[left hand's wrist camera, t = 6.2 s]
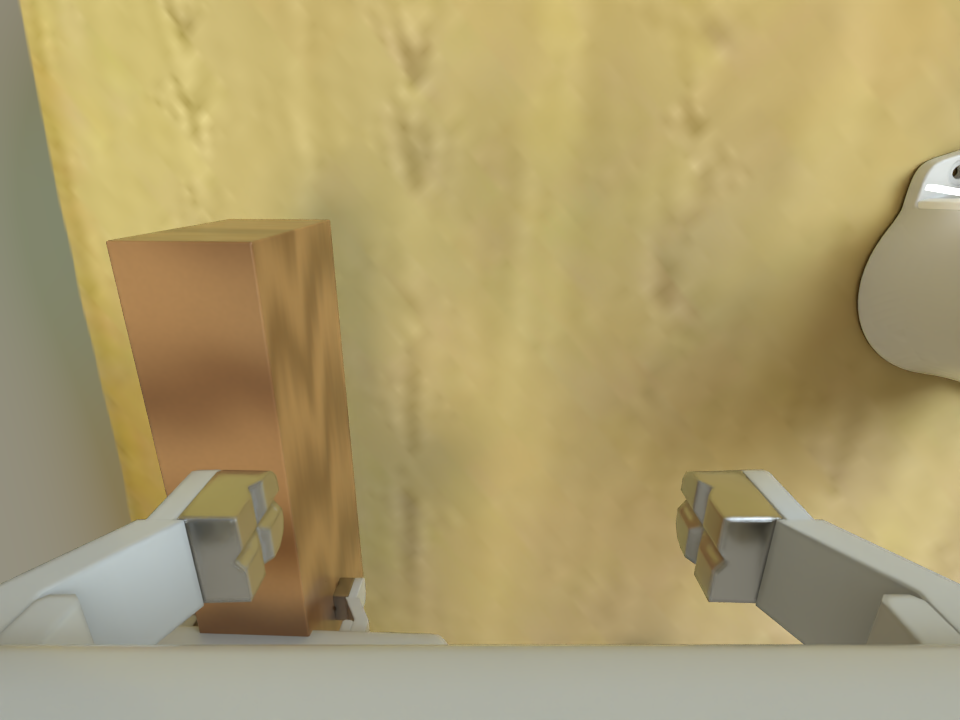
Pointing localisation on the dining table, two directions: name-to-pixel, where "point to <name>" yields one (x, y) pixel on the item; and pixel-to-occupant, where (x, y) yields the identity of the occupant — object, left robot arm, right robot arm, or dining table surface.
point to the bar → (251, 393)
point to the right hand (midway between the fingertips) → (298, 583)
